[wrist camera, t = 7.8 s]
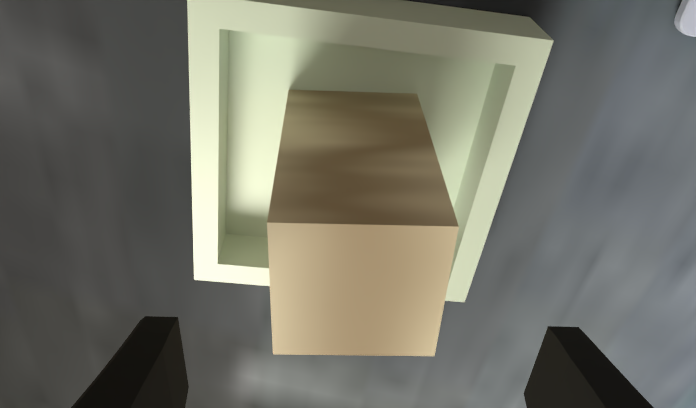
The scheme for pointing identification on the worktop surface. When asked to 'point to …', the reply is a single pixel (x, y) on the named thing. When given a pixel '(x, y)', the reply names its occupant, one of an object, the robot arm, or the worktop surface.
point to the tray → (353, 76)
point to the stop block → (358, 227)
